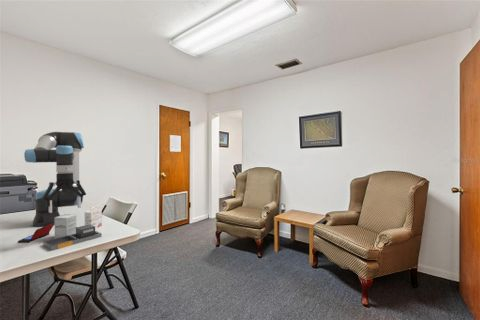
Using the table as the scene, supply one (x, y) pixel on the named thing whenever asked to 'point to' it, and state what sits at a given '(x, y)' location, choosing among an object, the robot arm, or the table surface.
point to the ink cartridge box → (94, 217)
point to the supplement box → (65, 225)
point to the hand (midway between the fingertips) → (65, 209)
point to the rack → (68, 241)
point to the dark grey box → (85, 231)
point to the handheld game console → (37, 234)
